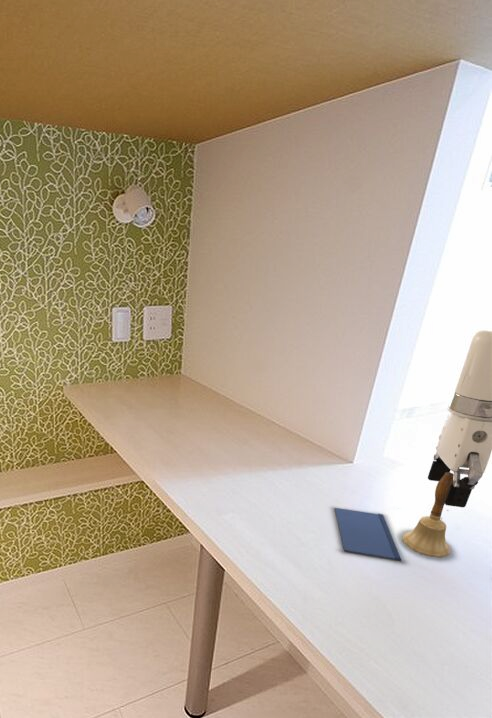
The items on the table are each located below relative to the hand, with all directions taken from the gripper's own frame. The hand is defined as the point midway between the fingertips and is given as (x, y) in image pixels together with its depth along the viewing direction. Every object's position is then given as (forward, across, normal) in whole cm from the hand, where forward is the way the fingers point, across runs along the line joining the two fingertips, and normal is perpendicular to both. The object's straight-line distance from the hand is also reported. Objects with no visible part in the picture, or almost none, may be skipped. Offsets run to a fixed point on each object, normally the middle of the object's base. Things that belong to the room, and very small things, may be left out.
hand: (444, 492), depth 81 cm
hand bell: (+12, 0, 0) cm, 12 cm away
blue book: (+12, +1, +11) cm, 16 cm away
